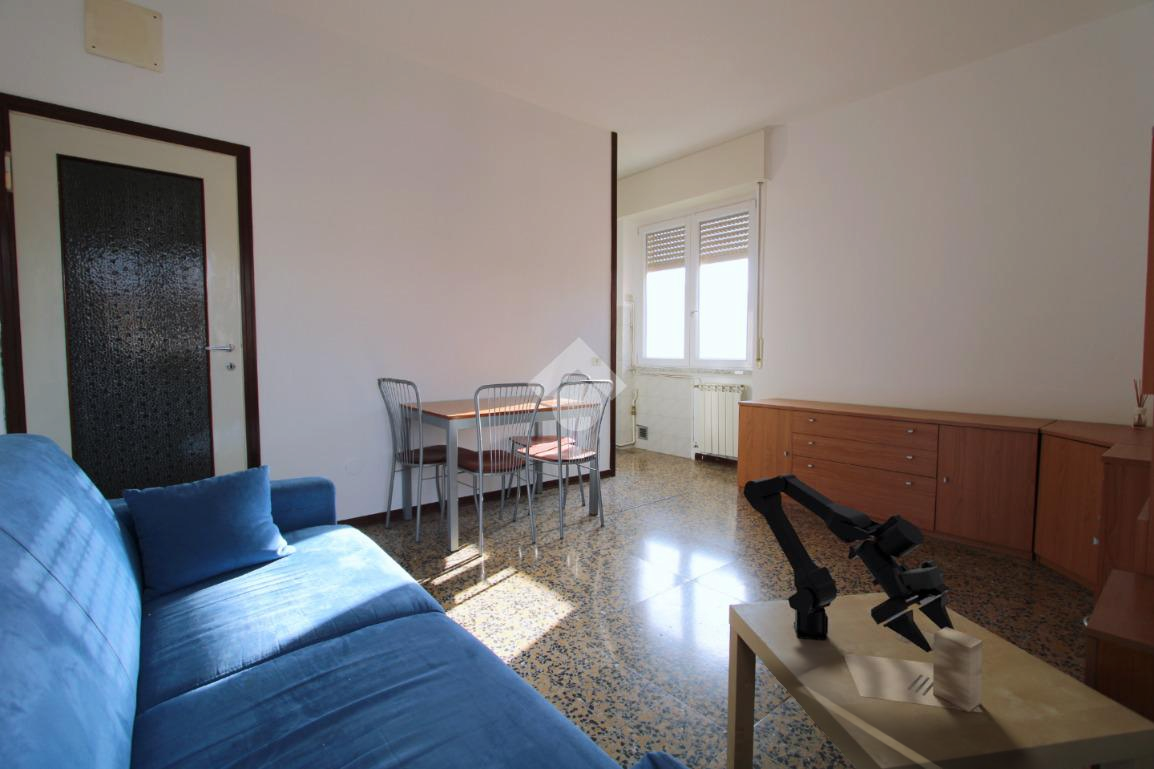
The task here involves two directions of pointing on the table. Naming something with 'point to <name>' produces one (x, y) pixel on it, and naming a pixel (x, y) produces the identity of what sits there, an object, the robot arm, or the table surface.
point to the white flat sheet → (895, 680)
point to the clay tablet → (927, 635)
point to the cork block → (957, 668)
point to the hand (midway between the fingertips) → (942, 644)
